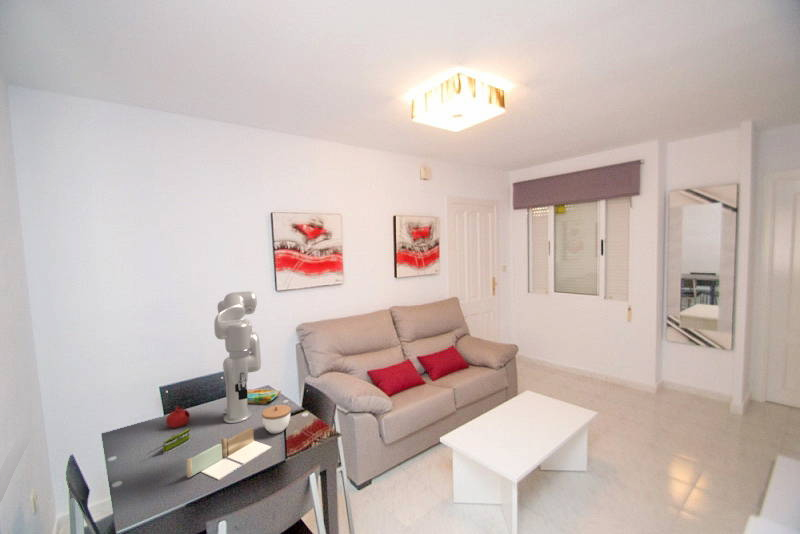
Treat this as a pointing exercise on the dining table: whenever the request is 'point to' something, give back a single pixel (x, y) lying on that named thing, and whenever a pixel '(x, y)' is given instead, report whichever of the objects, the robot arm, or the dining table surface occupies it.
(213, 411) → the dining table surface
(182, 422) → the red teapot
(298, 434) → the dining table surface
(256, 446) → the card
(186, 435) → the green slotted rack
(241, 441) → the base
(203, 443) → the dining table surface
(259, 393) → the puzzle game
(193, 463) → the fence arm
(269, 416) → the lidded bowl
